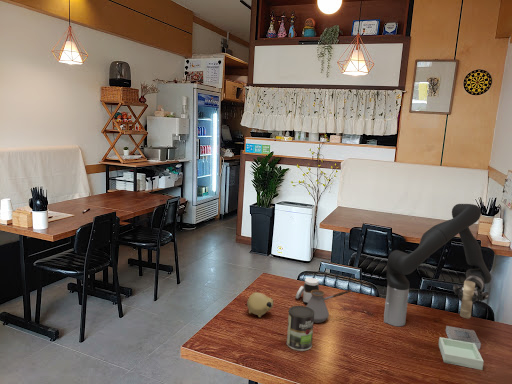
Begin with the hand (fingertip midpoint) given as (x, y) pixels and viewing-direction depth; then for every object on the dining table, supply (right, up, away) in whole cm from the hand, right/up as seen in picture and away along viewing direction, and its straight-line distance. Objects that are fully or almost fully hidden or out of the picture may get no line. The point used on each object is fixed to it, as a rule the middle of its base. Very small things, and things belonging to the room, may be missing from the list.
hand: (466, 298), depth 157 cm
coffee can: (-70, -18, -4) cm, 72 cm away
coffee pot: (-55, -15, +18) cm, 59 cm away
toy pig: (-85, -13, +20) cm, 89 cm away
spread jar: (-62, -12, +36) cm, 72 cm away
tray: (-7, -21, -8) cm, 23 cm away
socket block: (+1, -19, +5) cm, 20 cm away
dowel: (+1, -9, +4) cm, 9 cm away
